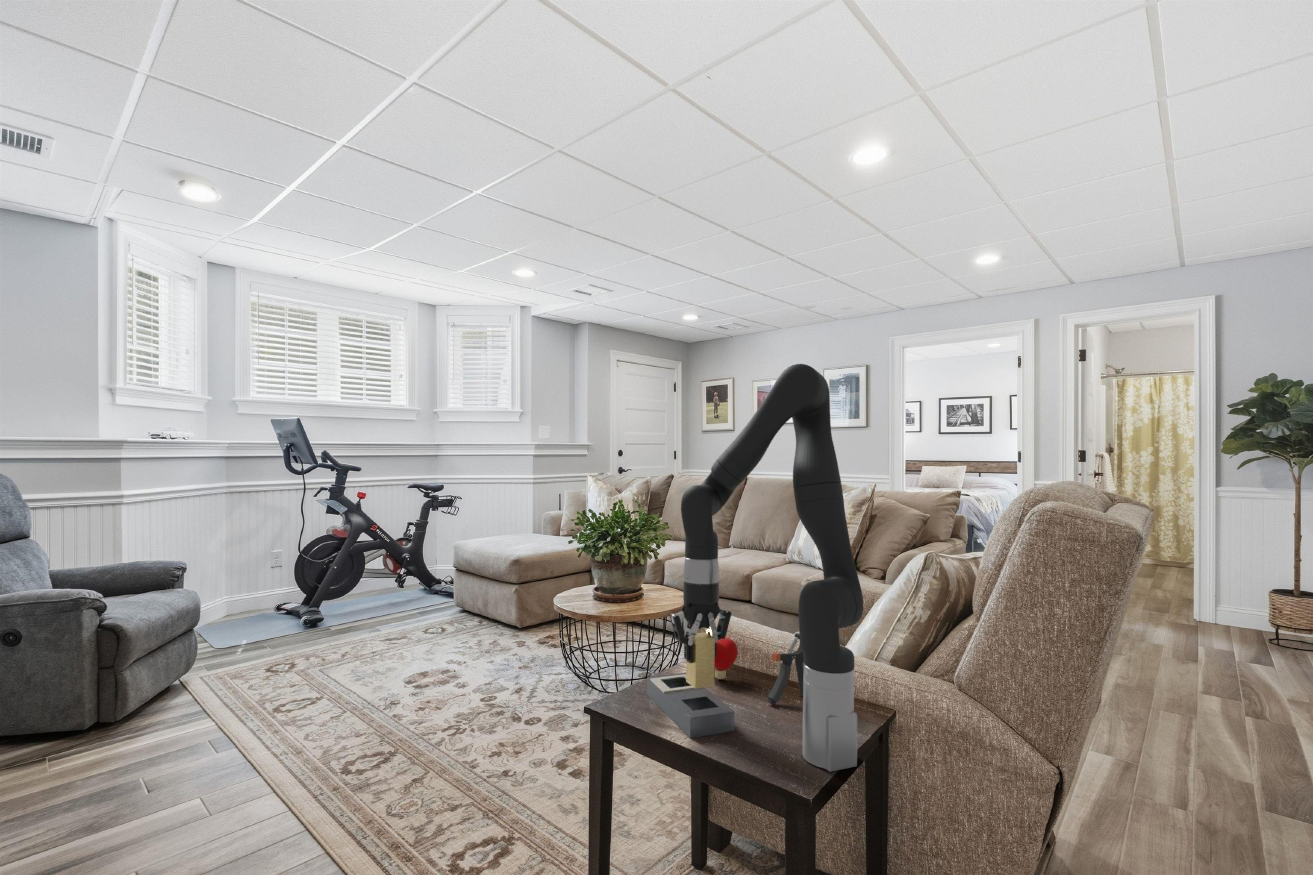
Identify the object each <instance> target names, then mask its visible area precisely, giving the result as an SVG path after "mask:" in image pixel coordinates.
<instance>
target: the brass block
mask: <svg viewBox="0 0 1313 875" xmlns="http://www.w3.org/2000/svg"><path fill="white" fill-rule="evenodd" d="M685 660H686V659H685ZM714 663H715V637H713V636H711V635H709V634H707V632H705V631H704V632H697V634H696V635H695V638H694V642H693V663H689V662H687V660H686V666H685V668H686V670H685V673H686V682H687V683H689V684H690V685H691V686H692V687H694V688H695V689H697V688H704V687H705V688H708V687H709V688H711V687H715V667H714Z"/></svg>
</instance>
